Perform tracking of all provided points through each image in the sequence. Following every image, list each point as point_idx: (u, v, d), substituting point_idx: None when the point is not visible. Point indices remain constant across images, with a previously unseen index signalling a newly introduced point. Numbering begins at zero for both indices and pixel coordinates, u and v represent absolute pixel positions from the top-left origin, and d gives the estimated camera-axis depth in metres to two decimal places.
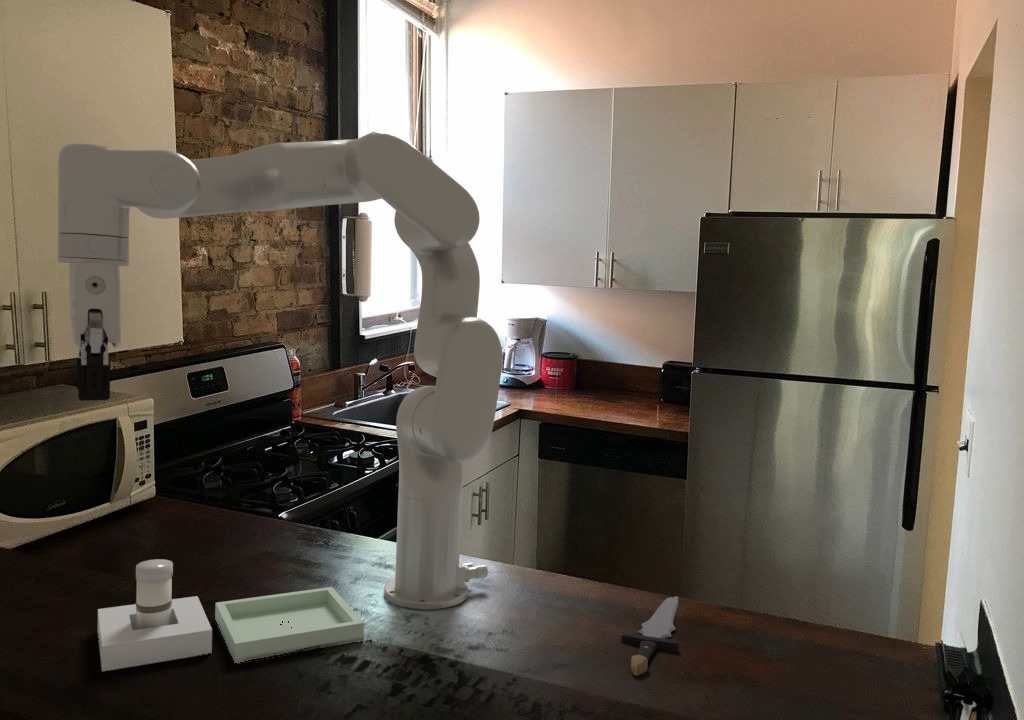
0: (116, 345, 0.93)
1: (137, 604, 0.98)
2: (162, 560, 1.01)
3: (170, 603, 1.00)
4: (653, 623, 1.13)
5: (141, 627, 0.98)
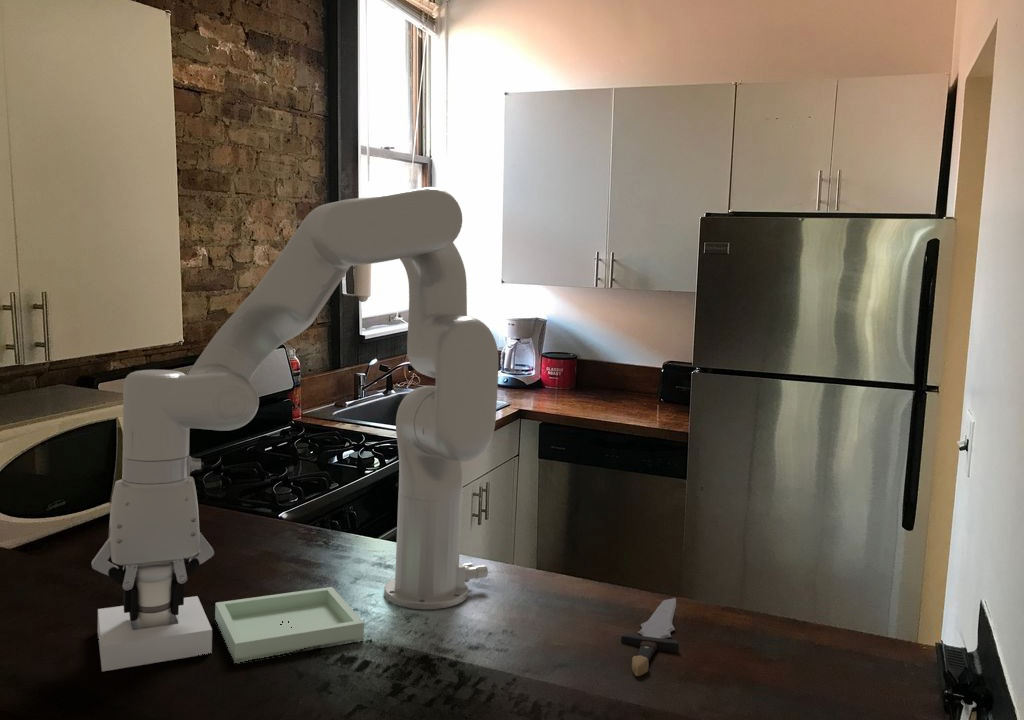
0: None
1: None
2: None
3: (170, 603, 1.00)
4: (652, 624, 1.13)
5: (141, 627, 0.98)
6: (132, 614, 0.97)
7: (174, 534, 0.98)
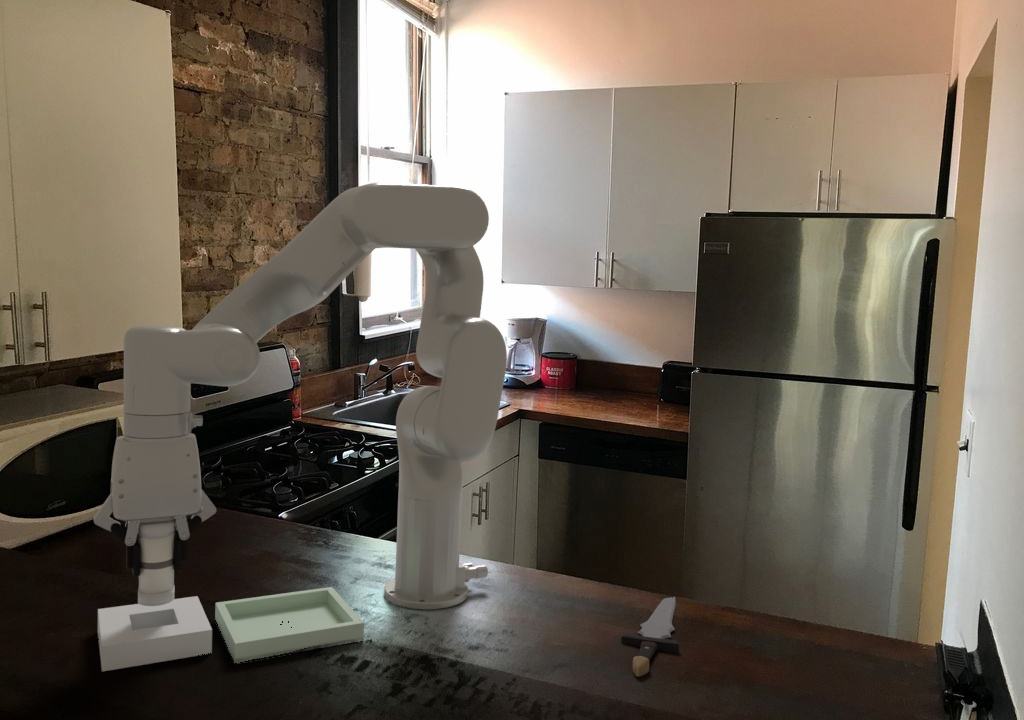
0: None
1: (140, 560, 0.98)
2: None
3: (173, 560, 1.00)
4: (652, 624, 1.13)
5: (144, 583, 0.98)
6: (135, 570, 0.97)
7: (176, 490, 0.98)
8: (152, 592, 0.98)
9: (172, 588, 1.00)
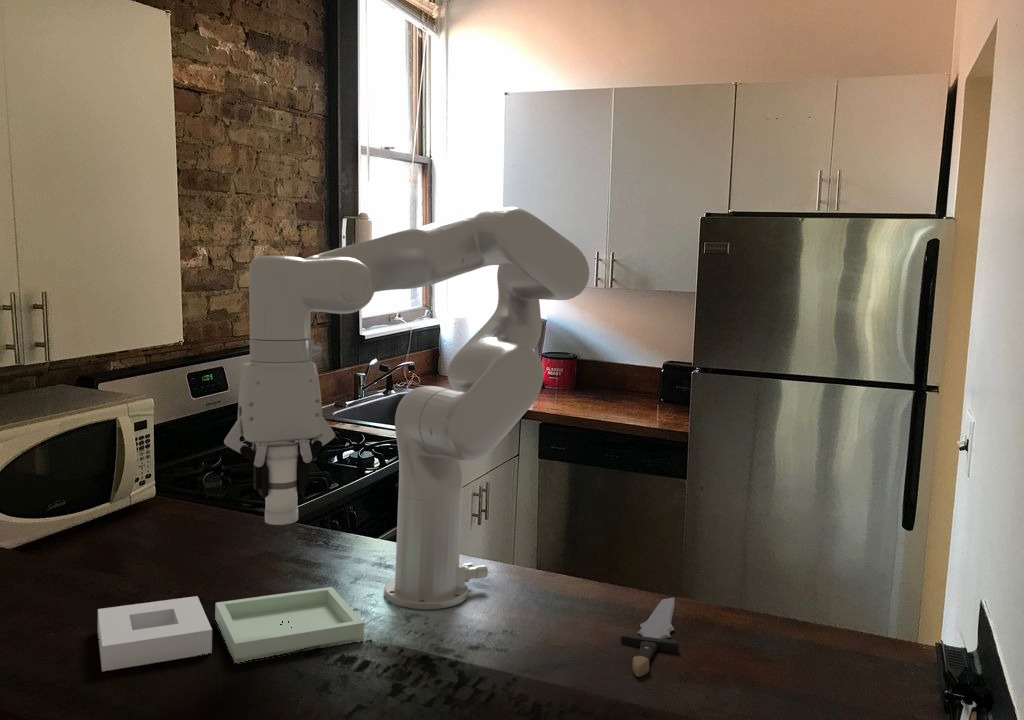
0: None
1: None
2: (286, 442, 1.05)
3: (297, 481, 1.04)
4: (651, 624, 1.13)
5: (271, 503, 1.02)
6: (263, 490, 1.01)
7: (300, 413, 1.02)
8: (279, 511, 1.02)
9: (296, 508, 1.04)
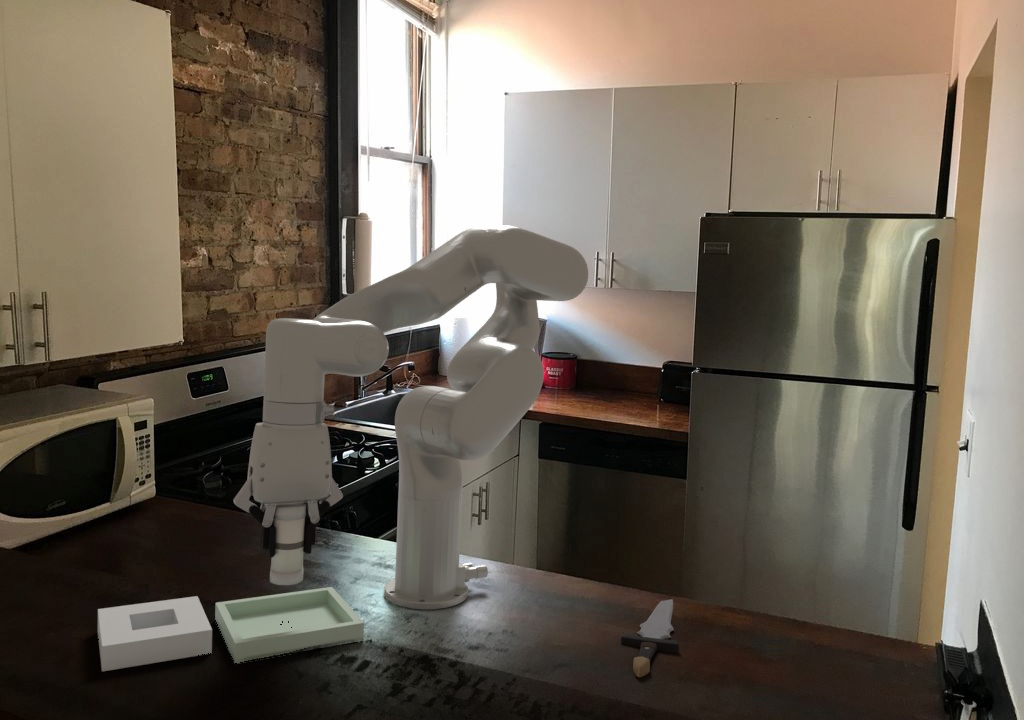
0: None
1: None
2: None
3: (303, 542, 1.05)
4: (651, 624, 1.13)
5: (278, 563, 1.03)
6: (270, 550, 1.02)
7: (310, 475, 1.03)
8: (285, 572, 1.03)
9: (302, 569, 1.05)
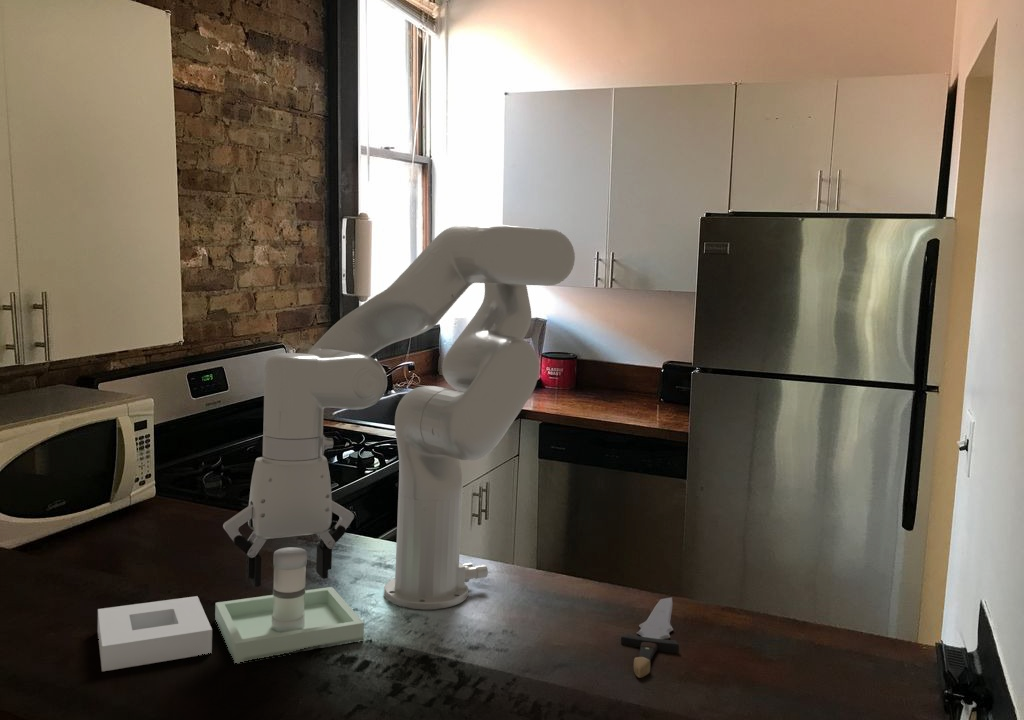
0: None
1: (275, 590, 1.04)
2: (295, 548, 1.06)
3: (304, 589, 1.05)
4: (651, 624, 1.12)
5: (279, 612, 1.03)
6: (256, 580, 1.01)
7: (311, 509, 1.03)
8: (287, 620, 1.03)
9: (303, 615, 1.05)
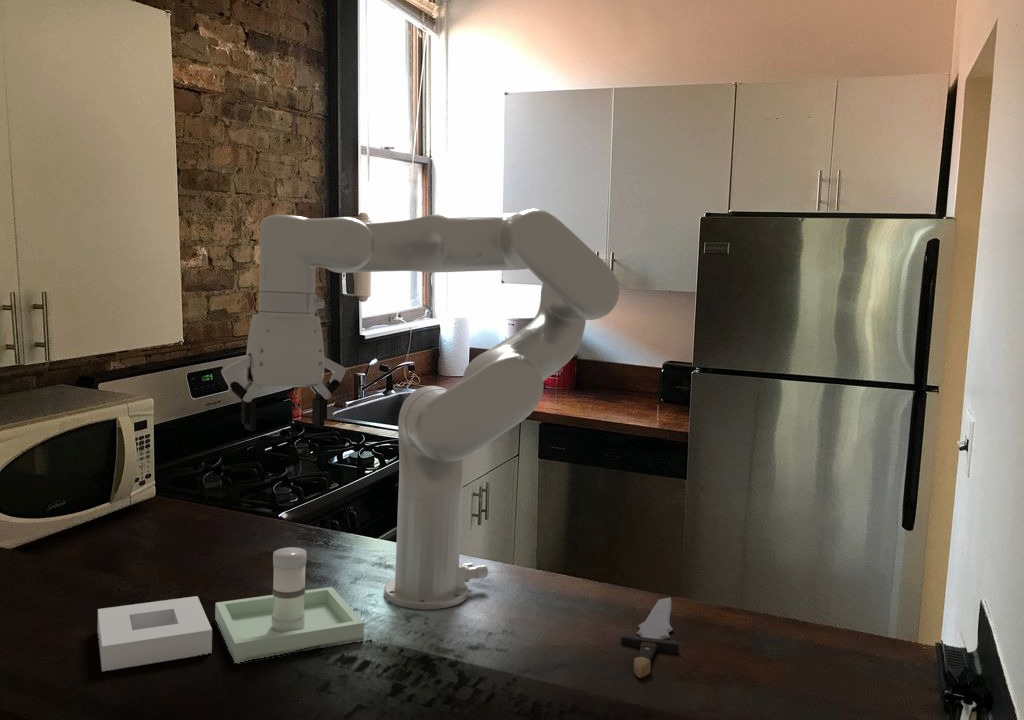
0: None
1: (275, 590, 1.04)
2: (295, 548, 1.06)
3: (304, 589, 1.05)
4: (650, 624, 1.12)
5: (279, 612, 1.03)
6: (252, 424, 1.08)
7: (305, 361, 1.11)
8: (287, 620, 1.03)
9: (303, 615, 1.05)
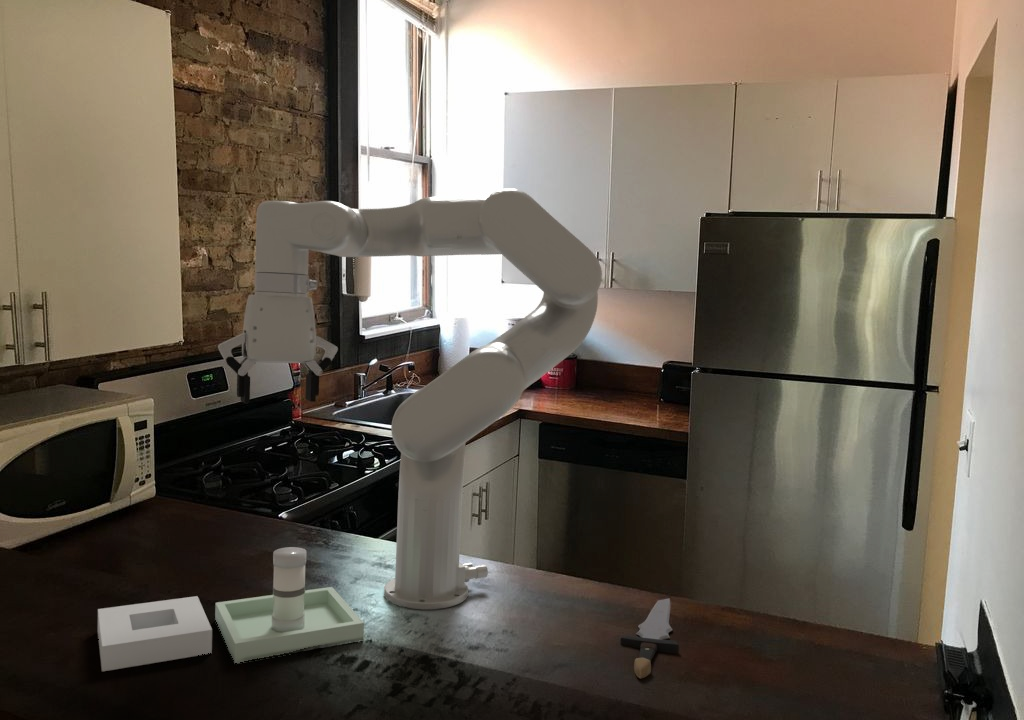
0: None
1: (275, 589, 1.04)
2: (295, 548, 1.07)
3: (304, 588, 1.05)
4: (650, 625, 1.12)
5: (279, 611, 1.04)
6: (245, 396, 1.15)
7: (297, 339, 1.18)
8: (287, 619, 1.04)
9: (303, 615, 1.06)
